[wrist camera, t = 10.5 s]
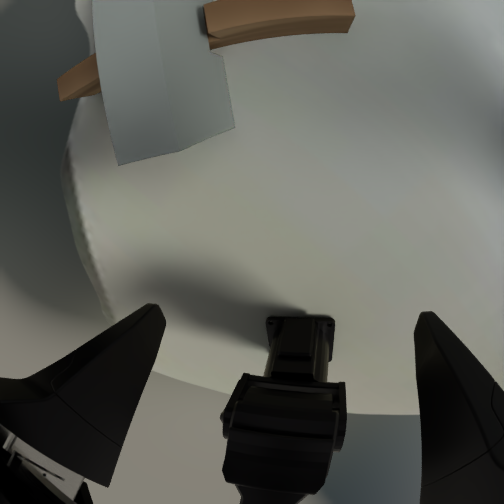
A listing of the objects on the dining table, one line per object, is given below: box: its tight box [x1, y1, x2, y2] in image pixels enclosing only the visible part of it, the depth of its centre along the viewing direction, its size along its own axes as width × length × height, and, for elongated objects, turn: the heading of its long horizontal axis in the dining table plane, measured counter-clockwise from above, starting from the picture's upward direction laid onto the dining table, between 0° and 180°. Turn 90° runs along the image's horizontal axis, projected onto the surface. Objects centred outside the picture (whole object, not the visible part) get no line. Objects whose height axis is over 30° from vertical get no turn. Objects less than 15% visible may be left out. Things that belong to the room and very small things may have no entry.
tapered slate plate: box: [92, 0, 235, 166], centre depth 10 cm, size 14×4×8 cm, turn 9°
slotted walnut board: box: [57, 0, 355, 101], centre depth 12 cm, size 2×20×4 cm, turn 99°
